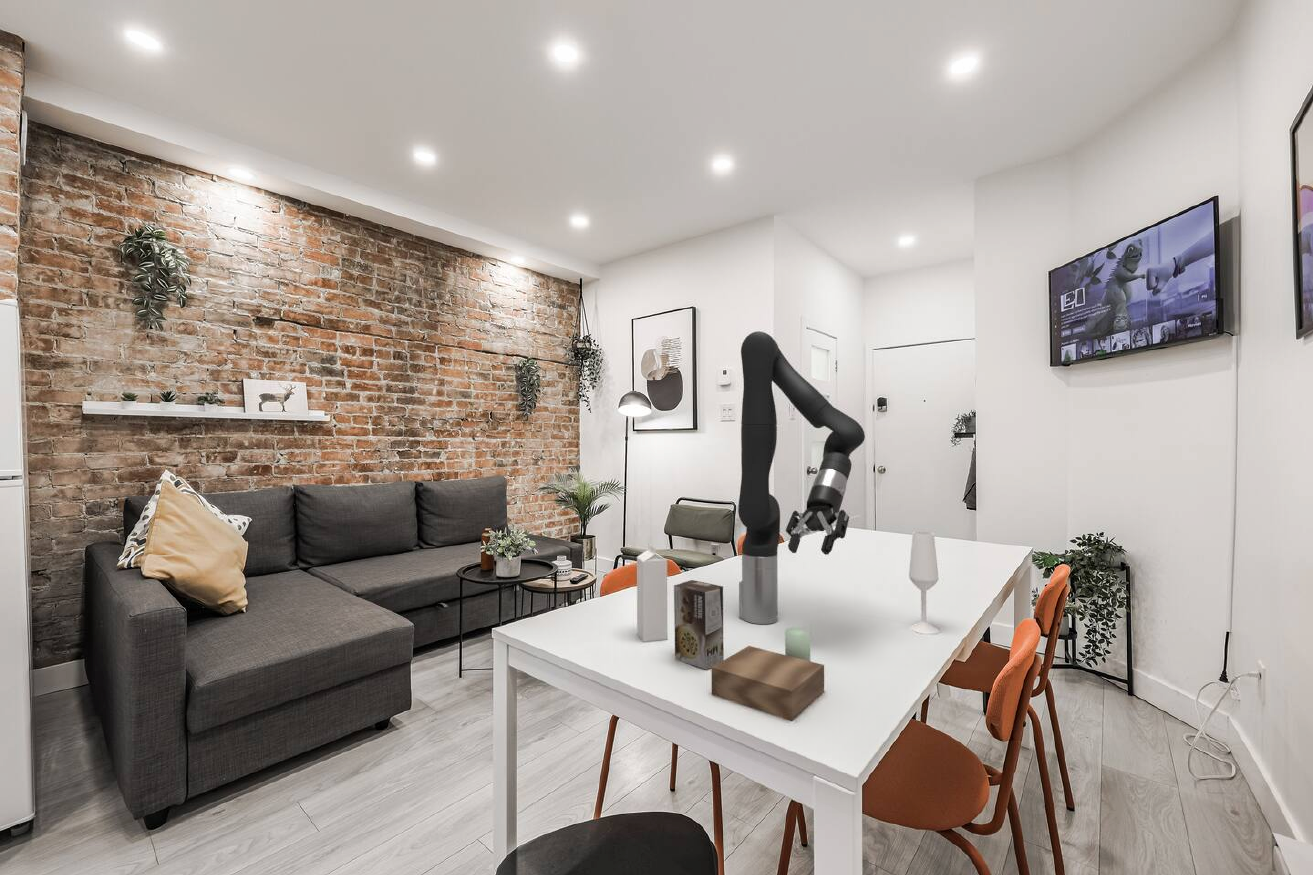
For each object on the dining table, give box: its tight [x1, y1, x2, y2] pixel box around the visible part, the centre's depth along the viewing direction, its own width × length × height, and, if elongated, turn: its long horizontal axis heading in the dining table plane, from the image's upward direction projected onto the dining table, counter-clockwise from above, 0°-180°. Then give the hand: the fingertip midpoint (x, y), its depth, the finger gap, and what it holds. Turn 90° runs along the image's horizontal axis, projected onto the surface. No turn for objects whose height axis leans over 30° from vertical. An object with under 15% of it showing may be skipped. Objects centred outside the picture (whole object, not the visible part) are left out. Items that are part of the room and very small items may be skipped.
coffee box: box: [673, 579, 725, 670], centre depth 120 cm, size 9×6×16 cm
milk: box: [636, 543, 668, 643], centre depth 135 cm, size 6×6×22 cm
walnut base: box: [711, 645, 825, 722], centre depth 104 cm, size 16×14×5 cm
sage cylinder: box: [784, 627, 811, 661], centre depth 115 cm, size 5×5×8 cm
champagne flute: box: [908, 530, 940, 635], centre depth 140 cm, size 7×7×24 cm
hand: (807, 552), depth 125 cm, fingers open, 8 cm apart
